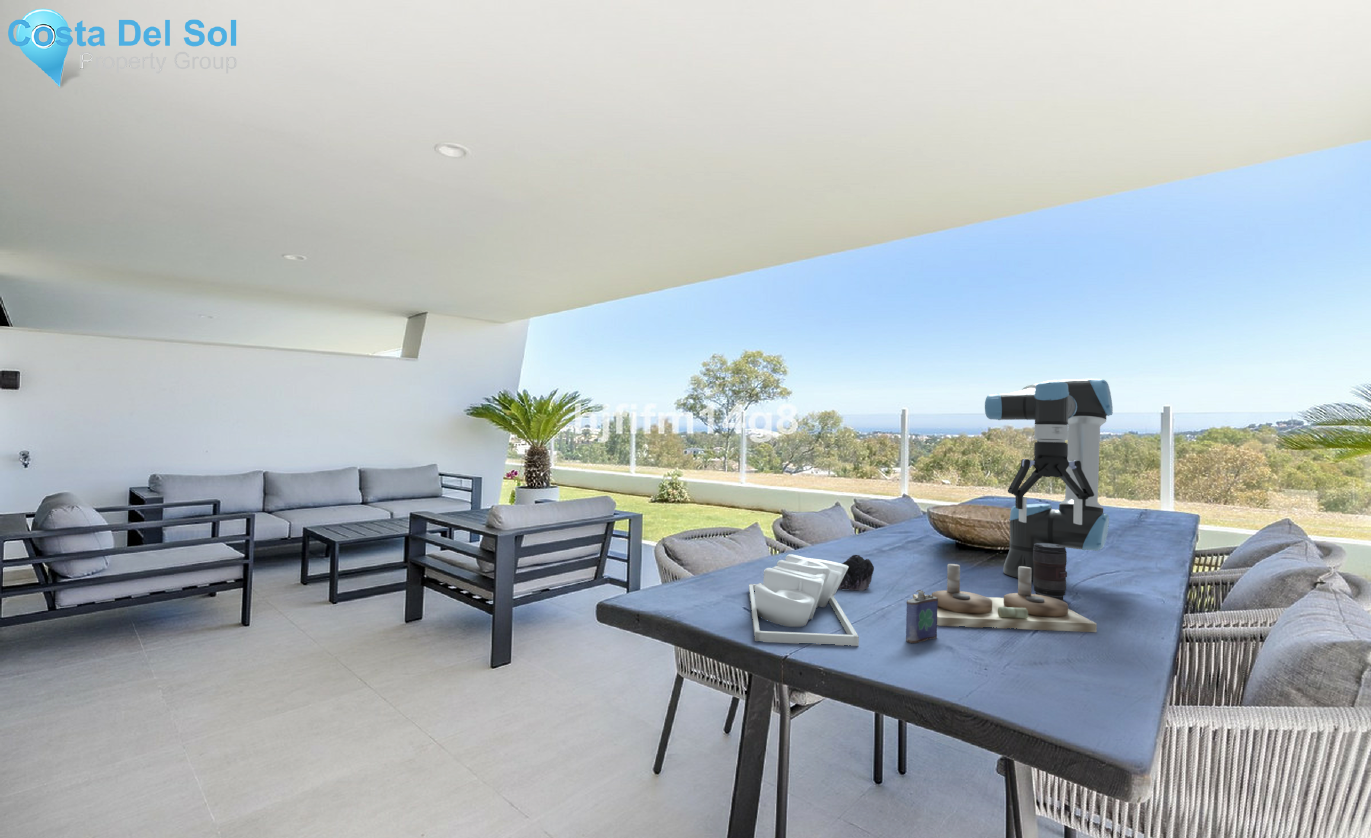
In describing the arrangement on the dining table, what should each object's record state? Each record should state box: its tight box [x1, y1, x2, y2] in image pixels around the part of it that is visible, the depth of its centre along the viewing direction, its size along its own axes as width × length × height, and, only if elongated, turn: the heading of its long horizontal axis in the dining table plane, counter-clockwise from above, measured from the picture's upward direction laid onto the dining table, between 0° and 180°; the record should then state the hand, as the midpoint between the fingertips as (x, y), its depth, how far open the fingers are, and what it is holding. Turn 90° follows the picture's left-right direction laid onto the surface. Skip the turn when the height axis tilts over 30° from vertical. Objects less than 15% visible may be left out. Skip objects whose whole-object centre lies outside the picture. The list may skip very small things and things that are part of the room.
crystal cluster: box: [837, 554, 875, 591], centre depth 180 cm, size 13×14×10 cm
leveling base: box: [912, 593, 1098, 633], centre depth 153 cm, size 36×20×4 cm, turn 86°
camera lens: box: [1032, 543, 1068, 601], centre depth 170 cm, size 8×8×15 cm
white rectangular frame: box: [748, 583, 860, 647], centre depth 151 cm, size 22×41×2 cm, turn 176°
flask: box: [905, 589, 938, 644], centre depth 135 cm, size 9×3×11 cm, turn 121°
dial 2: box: [1003, 566, 1069, 616], centre depth 152 cm, size 14×14×9 cm
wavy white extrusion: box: [754, 553, 849, 628], centre depth 155 cm, size 35×16×11 cm, turn 147°
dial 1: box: [931, 563, 992, 613], centre depth 154 cm, size 14×14×9 cm
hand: (1049, 523), depth 158 cm, fingers open, 13 cm apart
